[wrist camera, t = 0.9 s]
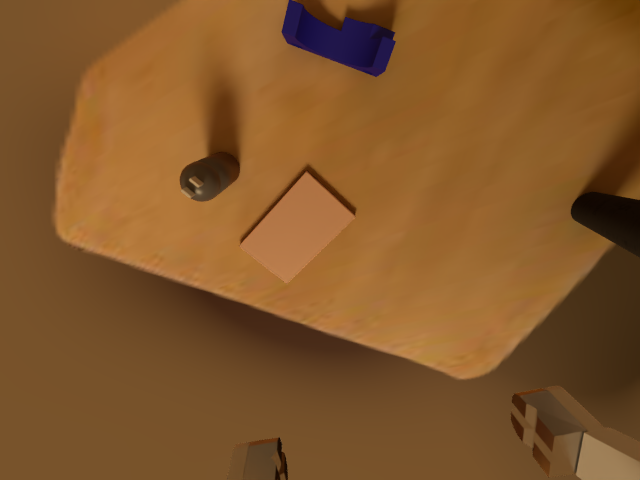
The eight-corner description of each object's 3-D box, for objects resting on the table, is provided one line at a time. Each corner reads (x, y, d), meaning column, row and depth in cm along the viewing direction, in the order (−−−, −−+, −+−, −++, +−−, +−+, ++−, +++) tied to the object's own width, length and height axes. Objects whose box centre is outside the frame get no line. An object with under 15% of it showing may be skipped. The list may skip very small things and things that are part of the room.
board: (306, 170, 44) (306, 171, 43) (354, 215, 47) (355, 217, 46) (240, 243, 49) (238, 246, 48) (287, 280, 51) (286, 283, 50)
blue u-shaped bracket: (389, 38, 38) (401, 25, 32) (376, 76, 39) (384, 71, 34) (297, 1, 36) (293, -18, 31) (287, 43, 38) (281, 32, 32)
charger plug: (220, 145, 43) (183, 157, 31) (246, 167, 44) (219, 187, 33) (201, 169, 44) (160, 189, 33) (227, 190, 45) (195, 217, 34)
